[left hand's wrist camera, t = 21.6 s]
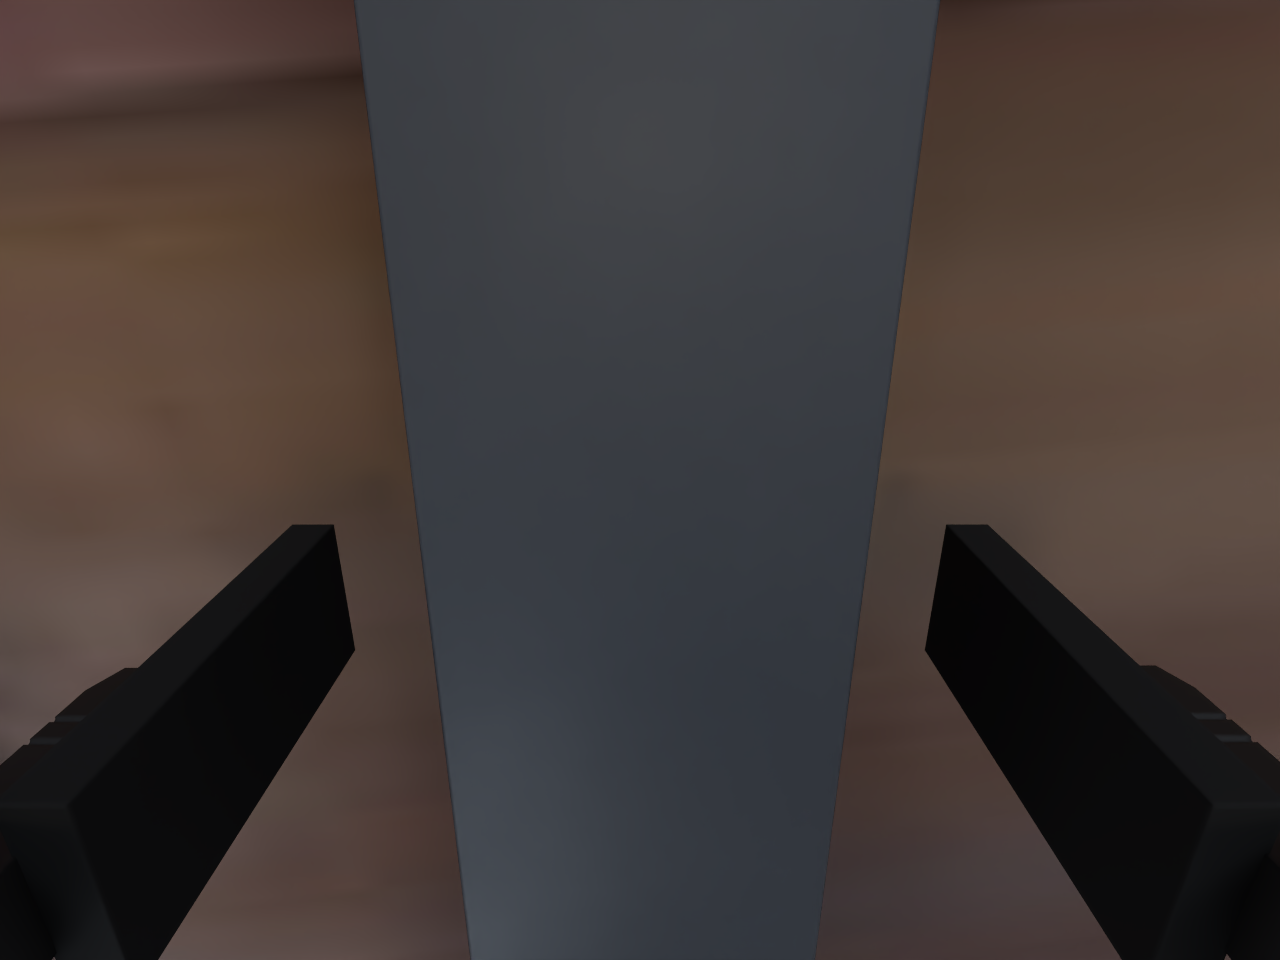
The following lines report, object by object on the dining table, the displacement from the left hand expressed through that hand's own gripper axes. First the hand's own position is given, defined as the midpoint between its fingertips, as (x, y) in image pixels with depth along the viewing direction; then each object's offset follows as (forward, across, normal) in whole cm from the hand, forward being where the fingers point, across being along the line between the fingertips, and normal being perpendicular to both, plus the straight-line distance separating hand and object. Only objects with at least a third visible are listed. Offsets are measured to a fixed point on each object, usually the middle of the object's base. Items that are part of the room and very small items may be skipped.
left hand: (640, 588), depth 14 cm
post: (+3, 0, -30) cm, 30 cm away
